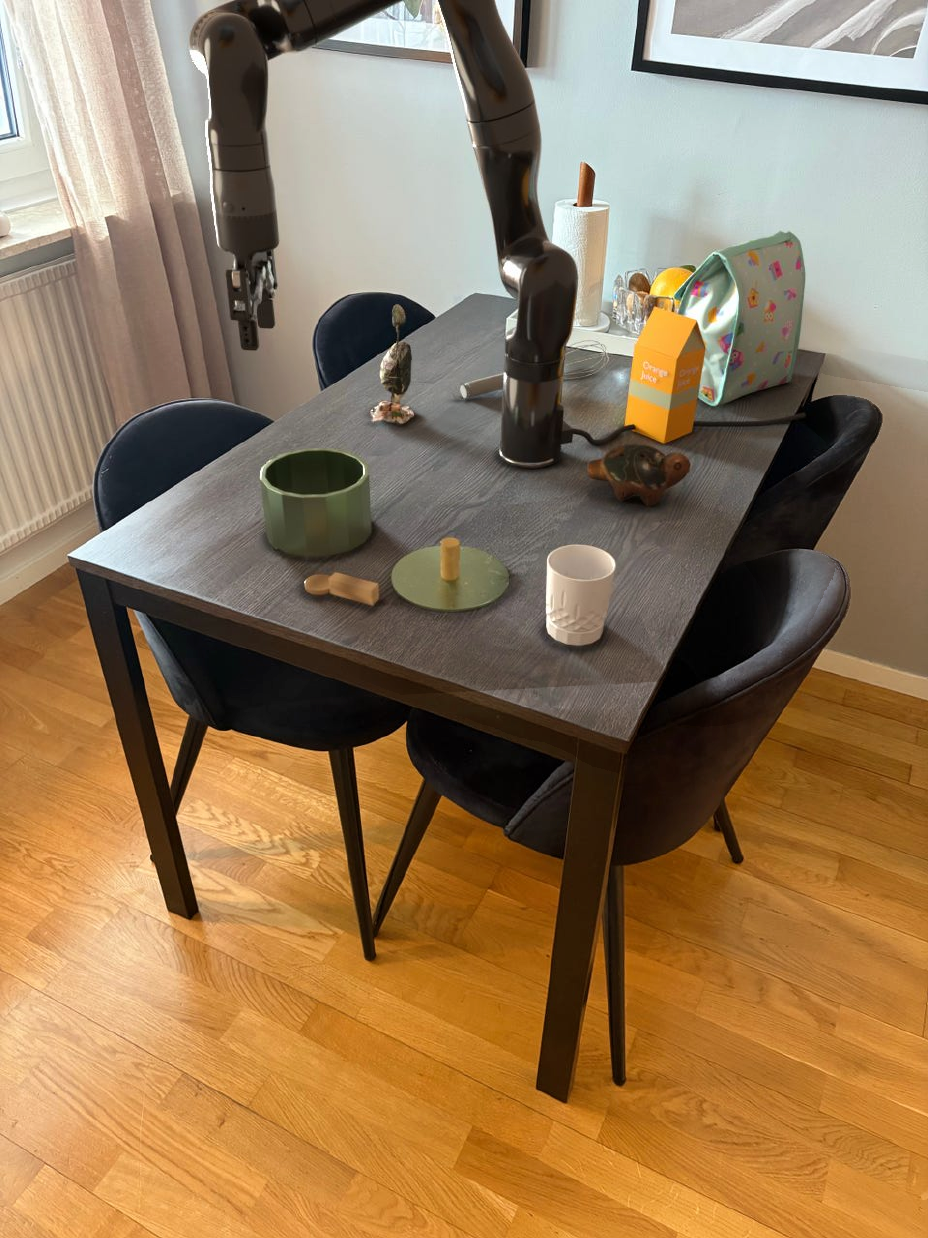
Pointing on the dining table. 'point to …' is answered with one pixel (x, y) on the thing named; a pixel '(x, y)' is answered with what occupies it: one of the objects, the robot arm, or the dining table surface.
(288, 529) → the tin
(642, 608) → the dining table surface
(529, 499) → the dining table surface
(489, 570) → the lid
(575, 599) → the white cup
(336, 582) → the spoon
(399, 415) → the plant with pod
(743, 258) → the lunch bag
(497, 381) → the kitchen whisk
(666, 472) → the decorative turtle
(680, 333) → the orange juice
